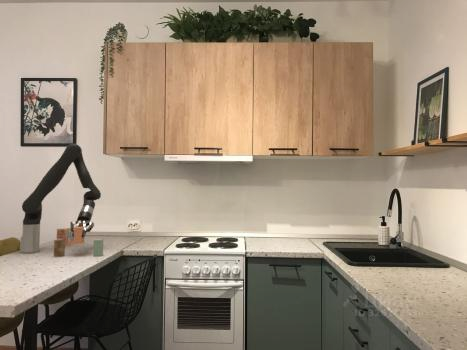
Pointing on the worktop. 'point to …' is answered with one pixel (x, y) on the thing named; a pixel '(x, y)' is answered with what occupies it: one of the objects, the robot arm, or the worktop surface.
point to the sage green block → (98, 247)
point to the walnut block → (59, 247)
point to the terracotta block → (78, 235)
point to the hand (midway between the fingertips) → (78, 236)
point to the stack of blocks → (65, 235)
